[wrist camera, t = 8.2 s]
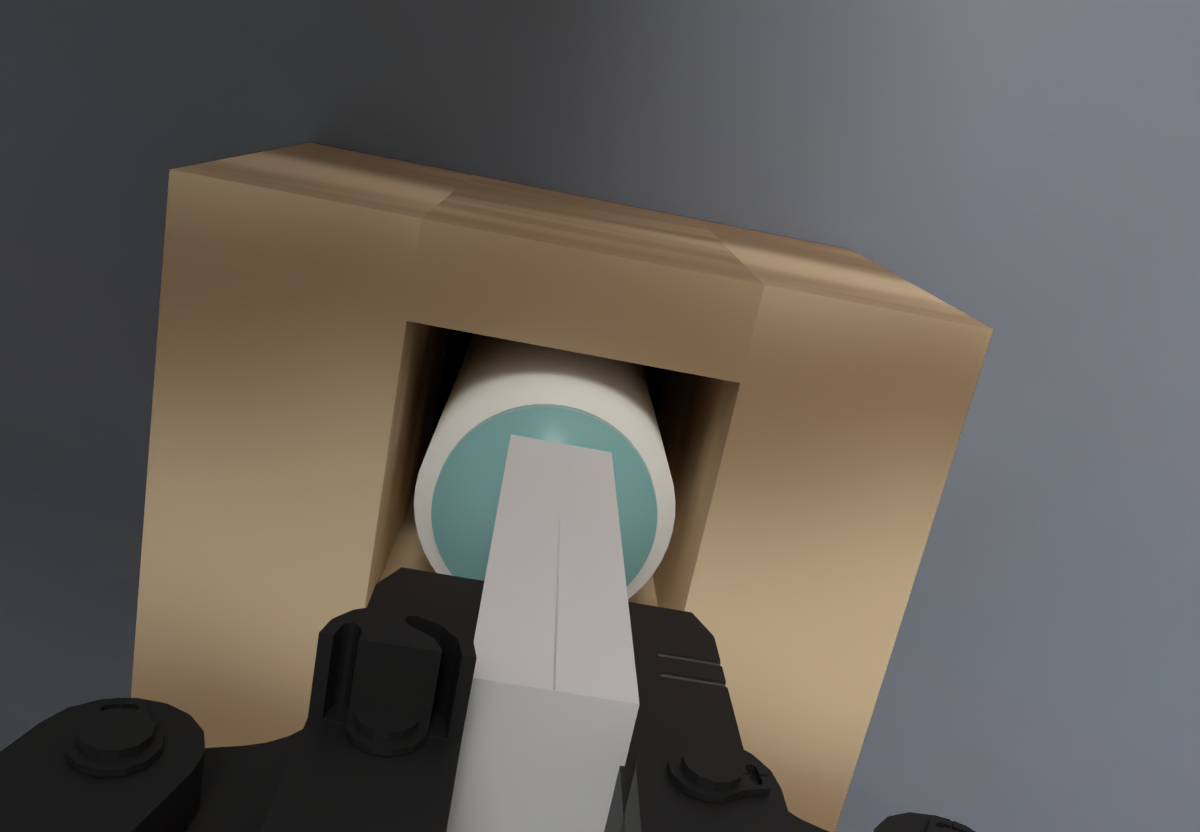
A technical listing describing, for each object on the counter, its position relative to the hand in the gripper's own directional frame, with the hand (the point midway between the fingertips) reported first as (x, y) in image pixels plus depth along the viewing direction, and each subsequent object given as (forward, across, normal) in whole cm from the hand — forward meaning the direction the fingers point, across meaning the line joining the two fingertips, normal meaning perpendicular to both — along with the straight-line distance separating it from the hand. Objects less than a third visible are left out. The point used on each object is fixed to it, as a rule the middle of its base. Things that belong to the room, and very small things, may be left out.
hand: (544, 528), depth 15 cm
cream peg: (+9, 0, 0) cm, 9 cm away
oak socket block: (+9, 0, -5) cm, 10 cm away
